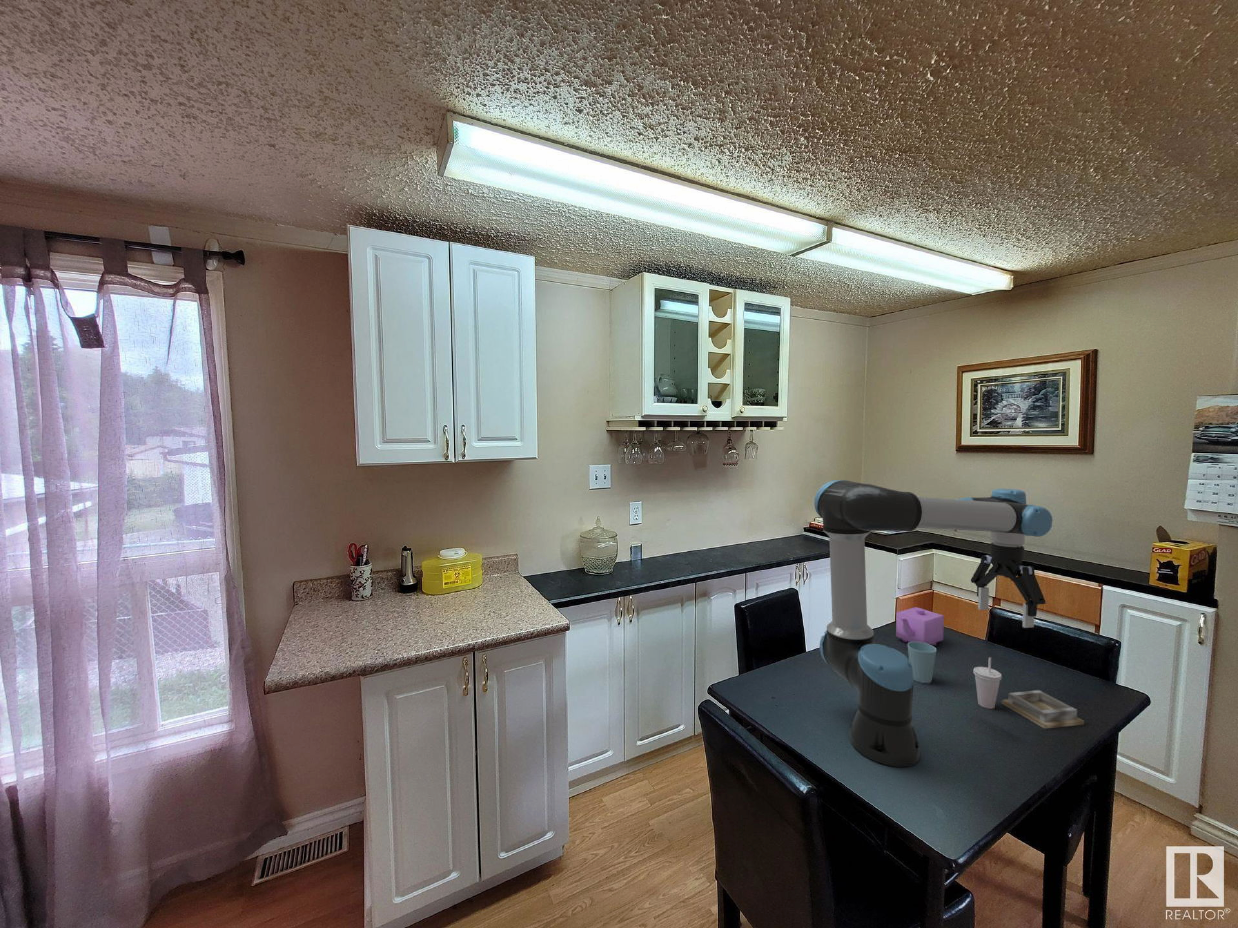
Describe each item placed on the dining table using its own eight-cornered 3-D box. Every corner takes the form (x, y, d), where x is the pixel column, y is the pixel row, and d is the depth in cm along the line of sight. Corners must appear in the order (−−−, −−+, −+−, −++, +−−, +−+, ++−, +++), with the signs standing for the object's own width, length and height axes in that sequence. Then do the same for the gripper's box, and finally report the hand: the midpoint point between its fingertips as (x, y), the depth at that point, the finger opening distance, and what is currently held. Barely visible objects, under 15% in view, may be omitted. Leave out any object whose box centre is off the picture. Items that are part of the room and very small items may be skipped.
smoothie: (989, 713, 132) (991, 663, 131) (966, 700, 138) (968, 653, 137) (1006, 709, 134) (1008, 660, 133) (983, 697, 140) (984, 650, 139)
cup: (941, 681, 149) (942, 649, 148) (925, 687, 146) (926, 653, 145) (917, 671, 156) (918, 639, 155) (901, 676, 153) (902, 644, 152)
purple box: (919, 632, 186) (920, 601, 185) (947, 642, 177) (948, 609, 176) (886, 643, 177) (887, 610, 176) (913, 654, 168) (914, 619, 167)
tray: (1044, 728, 125) (1045, 715, 125) (1001, 703, 137) (1002, 691, 137) (1083, 724, 127) (1084, 711, 126) (1038, 699, 138) (1038, 687, 138)
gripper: (1065, 553, 123) (1062, 634, 125) (979, 534, 148) (977, 601, 149) (1040, 555, 122) (1037, 636, 124) (958, 535, 147) (956, 603, 148)
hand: (1004, 617), depth 136 cm, fingers open, 13 cm apart
